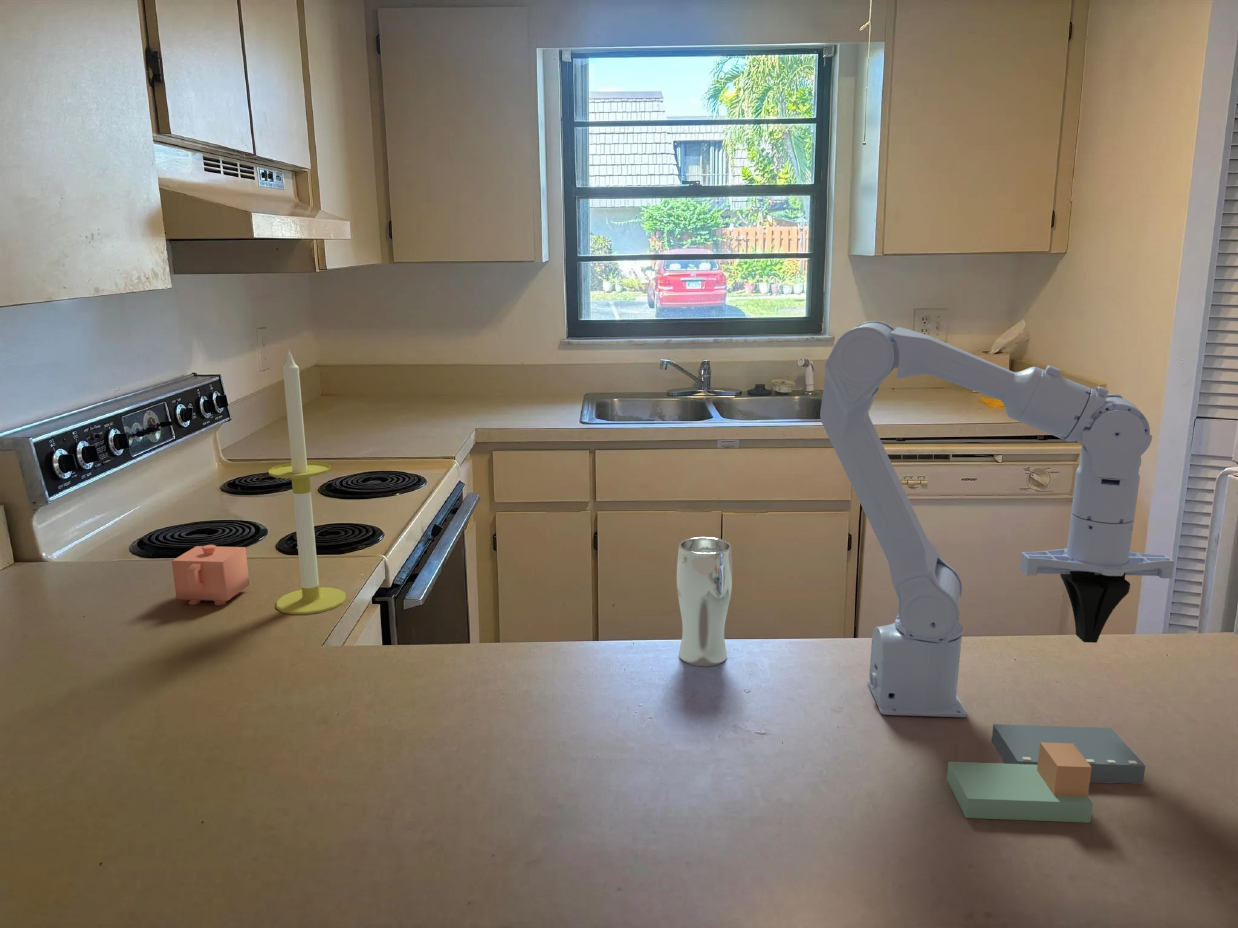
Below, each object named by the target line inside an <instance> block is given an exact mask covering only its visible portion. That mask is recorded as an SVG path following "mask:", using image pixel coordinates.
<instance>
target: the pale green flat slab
mask: <svg viewBox="0 0 1238 928" xmlns="http://www.w3.org/2000/svg"><path fill="white" fill-rule="evenodd" d="M1091 769H1092V767H1091V766H1090V764H1089V763H1088V762H1087V761H1086V759H1085V758H1084V757H1083V756H1082V754H1081V753H1080V752H1079V751H1078V749H1077V748H1076V747H1075V745H1074V744H1073V743H1046V742H1040V749H1039V757H1038V765H1029V764H1006V763H995V762H968V761H967V762H966V761H948V765H947V774H946V781H947V783H948V785H949V787H950V789H951V791H952V793H953V796H954V798H955V799H956V801H957V803H958V806H959V807H960V809H961V811H962V814H963V815H964V818H966V819H984V820H985V819H986V820H987V819H991V820H1008V821H1009V820H1013V821H1014V820H1015V821H1037V822H1038V821H1039V822H1040V821H1041V822H1062V823H1063V822H1064V823H1088V824H1089V823H1091V818H1092V817H1091V816H1092V811H1093V804H1094V803H1093V801H1092V800H1091V799H1090V798H1089V791H1090V783H1091V782H1090V777H1091Z"/></svg>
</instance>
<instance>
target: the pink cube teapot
mask: <svg viewBox="0 0 1238 928" xmlns="http://www.w3.org/2000/svg"><path fill="white" fill-rule="evenodd" d="M171 566H172V575H173V583H174V589H175V590H174V591H175V598H176V600H181V601H182V600H187V601H188V605H190V606H191V605H192V606H193V605H198V604H201V602H202V601H213V602H214V603H213V604H214V606H223V605H226V604H227V602H228V601H229V600H231V599H232V598H234V597H235V596H236V595H239V594H240V592H241V591H243V590H245V588H247V587H248V586H249V585H250V577H249V567H248V559H247V548H246V546H217V545H215V544H207V545H200V546H199V545H196V546H194V547H193V548H191V549H190V550H188V551H186V552H184V553H182V554H180V555H179V556H177V557H176V558H174V559H173V560H171Z"/></svg>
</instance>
